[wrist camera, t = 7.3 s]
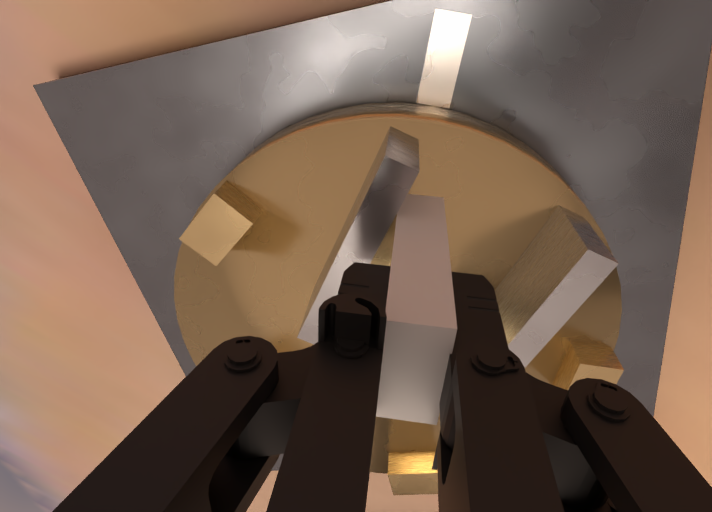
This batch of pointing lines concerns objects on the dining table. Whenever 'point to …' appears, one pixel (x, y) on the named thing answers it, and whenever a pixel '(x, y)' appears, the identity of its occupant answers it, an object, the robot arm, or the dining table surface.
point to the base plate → (425, 87)
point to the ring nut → (375, 246)
